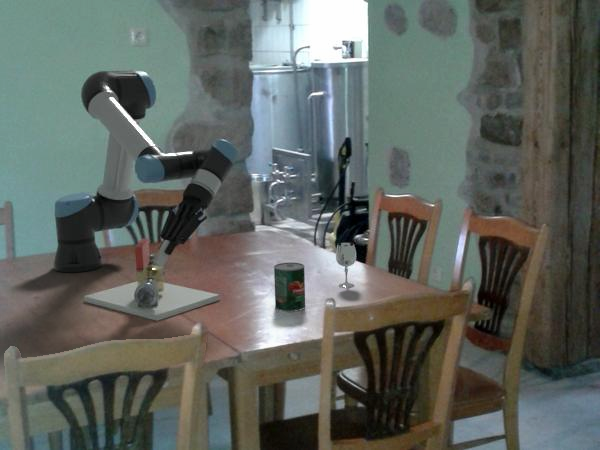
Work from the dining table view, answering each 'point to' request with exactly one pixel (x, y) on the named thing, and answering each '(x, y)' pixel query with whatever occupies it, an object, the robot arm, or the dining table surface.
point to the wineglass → (346, 259)
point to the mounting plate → (169, 300)
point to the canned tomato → (289, 286)
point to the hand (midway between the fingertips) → (157, 263)
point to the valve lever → (143, 255)
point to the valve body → (149, 285)
